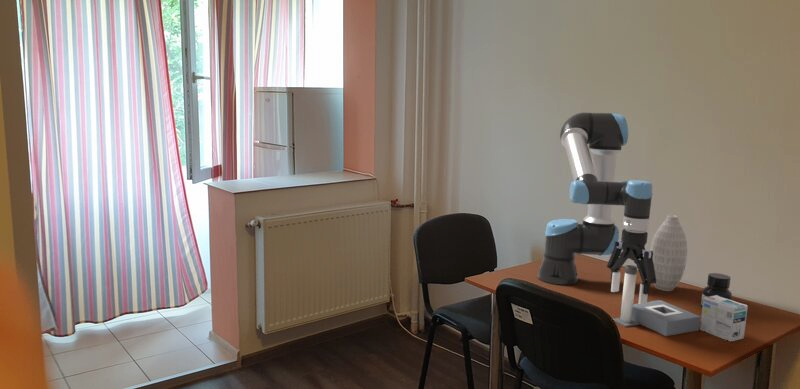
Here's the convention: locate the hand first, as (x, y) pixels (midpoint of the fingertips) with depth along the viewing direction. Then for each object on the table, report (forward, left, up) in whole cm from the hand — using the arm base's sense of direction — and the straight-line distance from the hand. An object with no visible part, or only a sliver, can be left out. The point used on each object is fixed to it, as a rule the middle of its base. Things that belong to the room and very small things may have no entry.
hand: (628, 297), depth 197 cm
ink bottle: (+1, +40, -9) cm, 40 cm away
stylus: (0, 0, -8) cm, 8 cm away
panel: (+5, +10, -8) cm, 14 cm away
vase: (-22, +40, -9) cm, 47 cm away
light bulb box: (+18, +22, -9) cm, 29 cm away
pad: (0, 0, -8) cm, 8 cm away
